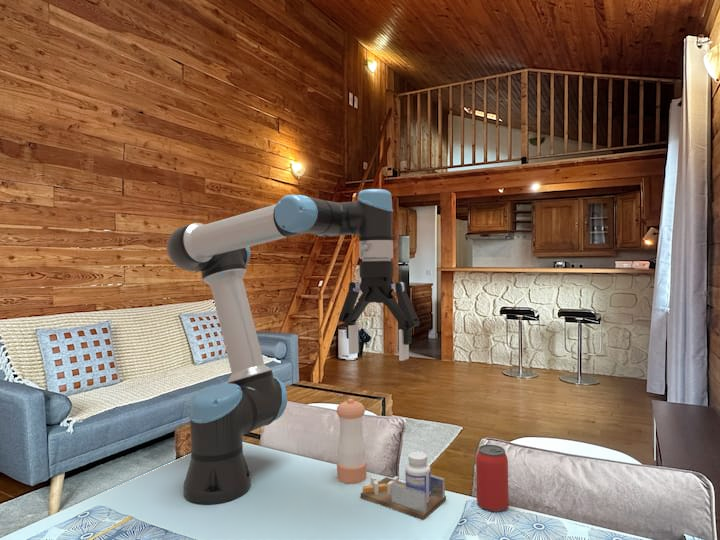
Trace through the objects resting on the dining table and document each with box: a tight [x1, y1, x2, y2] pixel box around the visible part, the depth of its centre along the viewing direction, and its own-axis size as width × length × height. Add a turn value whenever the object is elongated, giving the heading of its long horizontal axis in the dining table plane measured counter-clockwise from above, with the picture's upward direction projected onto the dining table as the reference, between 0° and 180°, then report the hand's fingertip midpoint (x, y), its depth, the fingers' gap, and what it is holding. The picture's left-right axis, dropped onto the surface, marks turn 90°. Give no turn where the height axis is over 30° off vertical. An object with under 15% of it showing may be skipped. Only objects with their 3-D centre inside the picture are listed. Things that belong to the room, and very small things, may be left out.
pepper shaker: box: [336, 398, 368, 484], centre depth 117 cm, size 7×7×19 cm
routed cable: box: [362, 475, 400, 495], centre depth 108 cm, size 8×7×2 cm
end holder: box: [391, 474, 446, 514], centre depth 103 cm, size 8×9×4 cm
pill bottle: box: [404, 451, 432, 503], centre depth 103 cm, size 5×5×10 cm
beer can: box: [475, 444, 510, 512], centre depth 102 cm, size 7×7×12 cm
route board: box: [360, 476, 447, 521], centre depth 106 cm, size 16×10×1 cm, turn 53°
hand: (377, 356), depth 105 cm, fingers open, 13 cm apart
